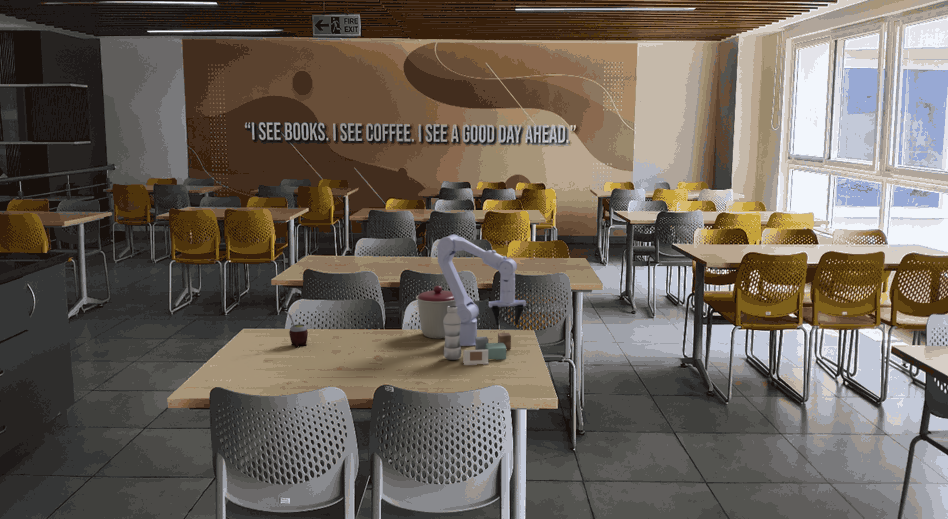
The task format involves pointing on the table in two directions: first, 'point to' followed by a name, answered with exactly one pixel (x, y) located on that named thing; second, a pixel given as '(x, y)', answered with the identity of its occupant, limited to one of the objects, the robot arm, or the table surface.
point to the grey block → (480, 343)
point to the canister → (434, 311)
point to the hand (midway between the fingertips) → (506, 324)
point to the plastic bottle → (452, 334)
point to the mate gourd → (298, 334)
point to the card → (475, 357)
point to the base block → (496, 350)
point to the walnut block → (505, 339)
